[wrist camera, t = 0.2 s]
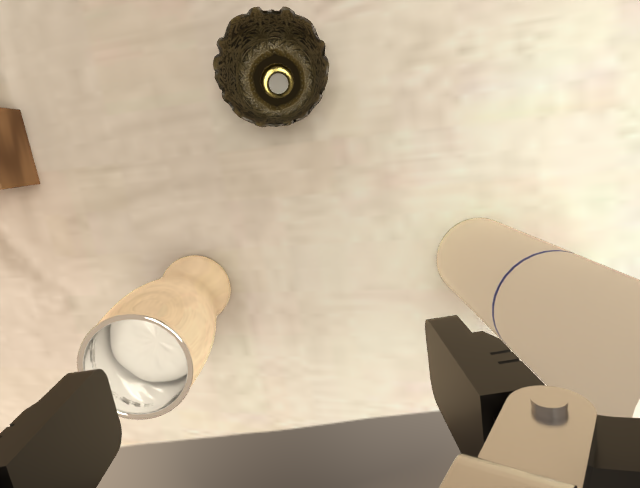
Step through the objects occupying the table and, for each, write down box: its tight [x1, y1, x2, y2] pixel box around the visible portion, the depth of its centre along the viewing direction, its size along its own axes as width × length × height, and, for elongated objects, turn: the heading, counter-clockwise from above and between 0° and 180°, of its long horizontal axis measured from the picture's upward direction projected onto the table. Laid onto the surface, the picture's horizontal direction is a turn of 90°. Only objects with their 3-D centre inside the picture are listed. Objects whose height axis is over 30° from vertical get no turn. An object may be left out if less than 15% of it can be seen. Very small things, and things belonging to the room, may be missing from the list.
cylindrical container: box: [437, 218, 640, 418], centre depth 29 cm, size 7×7×25 cm
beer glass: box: [77, 255, 231, 420], centre depth 33 cm, size 7×7×15 cm
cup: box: [213, 7, 329, 127], centre depth 33 cm, size 8×7×8 cm
